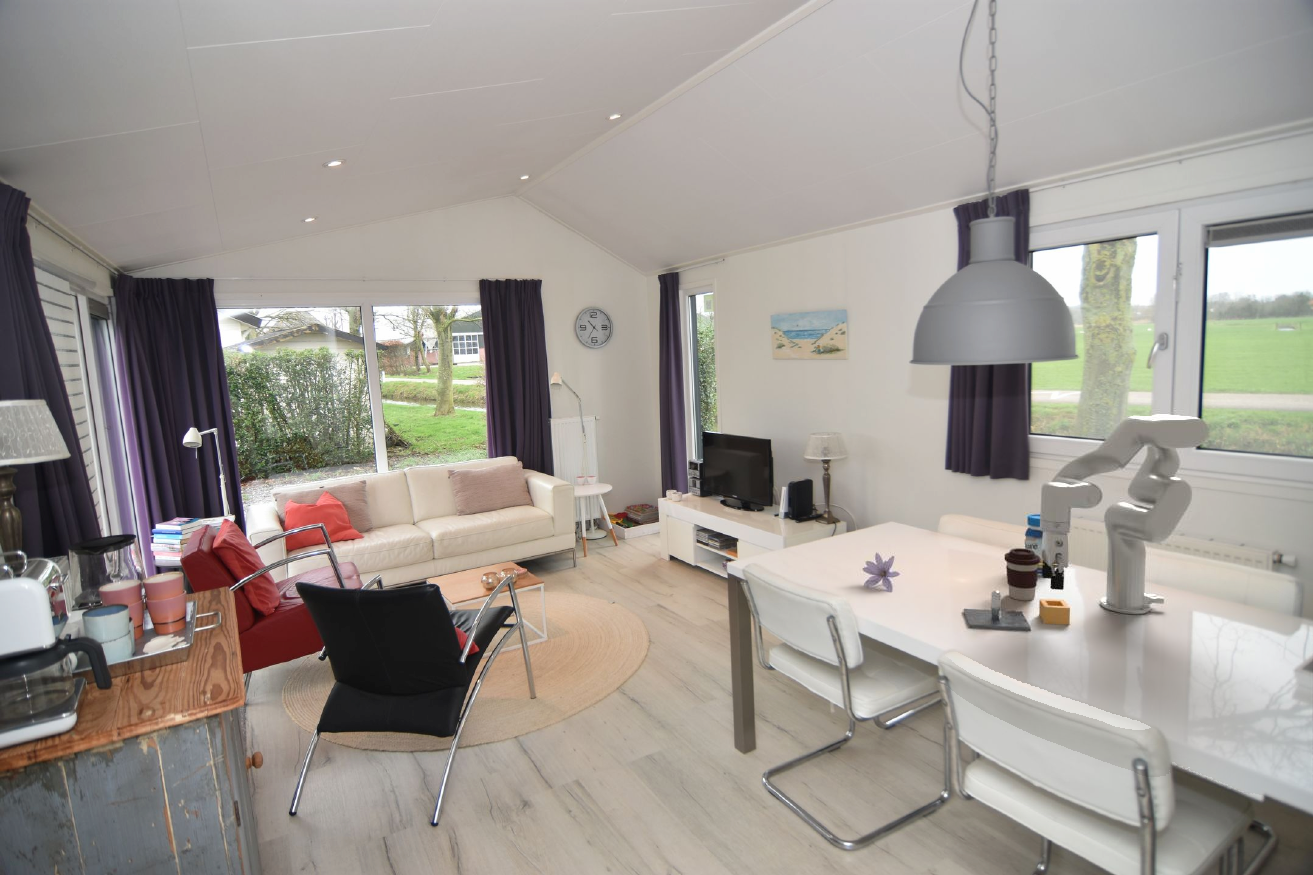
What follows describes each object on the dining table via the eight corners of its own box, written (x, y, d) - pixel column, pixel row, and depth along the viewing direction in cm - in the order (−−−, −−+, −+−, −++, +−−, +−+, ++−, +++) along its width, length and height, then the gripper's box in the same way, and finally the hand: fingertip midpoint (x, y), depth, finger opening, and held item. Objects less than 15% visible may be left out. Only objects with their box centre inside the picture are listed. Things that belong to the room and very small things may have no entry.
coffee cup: (1044, 602, 218) (1044, 556, 216) (1009, 602, 220) (1009, 555, 218) (1033, 591, 227) (1034, 546, 225) (1000, 591, 229) (1000, 546, 227)
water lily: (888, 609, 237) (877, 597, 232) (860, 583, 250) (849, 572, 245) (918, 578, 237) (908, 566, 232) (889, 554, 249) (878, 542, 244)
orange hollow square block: (1063, 616, 207) (1063, 599, 206) (1069, 624, 201) (1069, 607, 200) (1039, 615, 209) (1039, 598, 208) (1044, 623, 203) (1044, 606, 202)
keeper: (1021, 614, 210) (1021, 584, 209) (1030, 630, 199) (1031, 599, 197) (963, 611, 215) (963, 582, 213) (969, 627, 203) (969, 596, 202)
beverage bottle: (1056, 575, 240) (1057, 518, 237) (1031, 576, 240) (1032, 519, 238) (1043, 567, 248) (1044, 512, 246) (1019, 569, 249) (1020, 513, 246)
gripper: (1078, 534, 192) (1075, 594, 194) (1061, 519, 208) (1058, 574, 210) (1048, 532, 194) (1045, 592, 196) (1033, 518, 210) (1031, 573, 213)
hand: (1052, 583), depth 203 cm, fingers open, 9 cm apart
